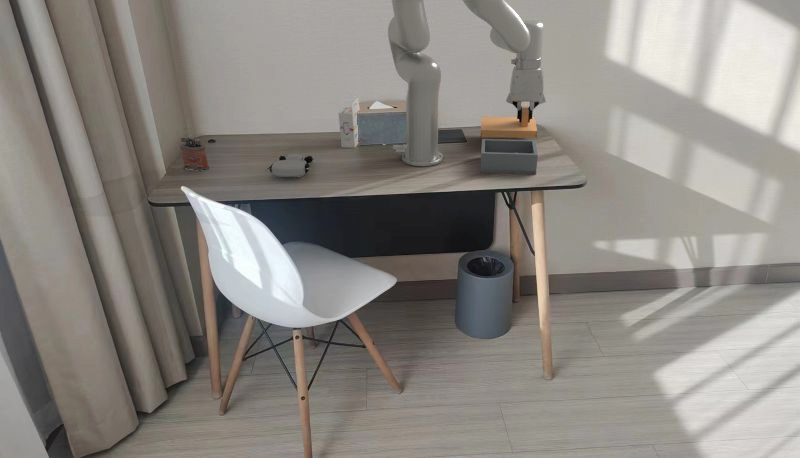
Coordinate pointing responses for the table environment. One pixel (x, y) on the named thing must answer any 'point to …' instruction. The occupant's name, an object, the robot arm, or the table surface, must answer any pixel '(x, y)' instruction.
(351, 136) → the ink cartridge box
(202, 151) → the lighter
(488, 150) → the tub
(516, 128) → the lid
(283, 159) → the robot toy
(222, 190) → the table surface
